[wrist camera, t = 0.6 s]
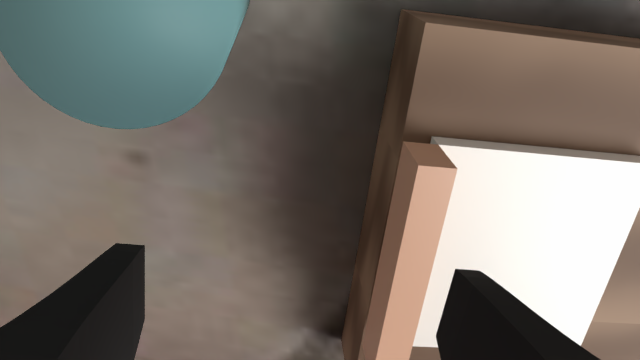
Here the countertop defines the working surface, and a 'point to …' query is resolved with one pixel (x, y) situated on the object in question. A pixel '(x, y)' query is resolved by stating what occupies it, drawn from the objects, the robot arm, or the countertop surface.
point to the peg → (120, 54)
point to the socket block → (506, 133)
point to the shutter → (499, 234)
